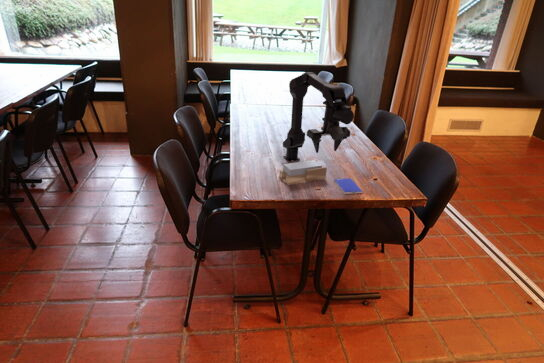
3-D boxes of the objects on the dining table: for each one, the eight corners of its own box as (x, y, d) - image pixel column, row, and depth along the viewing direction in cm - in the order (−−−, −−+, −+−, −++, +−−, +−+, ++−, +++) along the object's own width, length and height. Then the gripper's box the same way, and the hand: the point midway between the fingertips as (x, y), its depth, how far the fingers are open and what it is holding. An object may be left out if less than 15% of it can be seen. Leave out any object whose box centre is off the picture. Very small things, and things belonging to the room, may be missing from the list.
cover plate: (283, 170, 162) (283, 164, 160) (314, 166, 168) (314, 160, 167) (289, 176, 157) (290, 169, 155) (321, 171, 163) (322, 165, 162)
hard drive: (334, 178, 163) (344, 191, 152) (351, 178, 165) (362, 190, 154) (333, 182, 164) (344, 195, 153) (350, 181, 165) (362, 194, 154)
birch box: (278, 176, 164) (279, 164, 161) (315, 171, 171) (316, 160, 169) (287, 185, 157) (288, 172, 154) (325, 179, 164) (327, 167, 162)
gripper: (321, 124, 142) (316, 161, 149) (360, 121, 150) (354, 156, 157) (308, 116, 151) (303, 151, 158) (345, 113, 159) (340, 147, 166)
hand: (326, 151), depth 159 cm, fingers open, 9 cm apart
